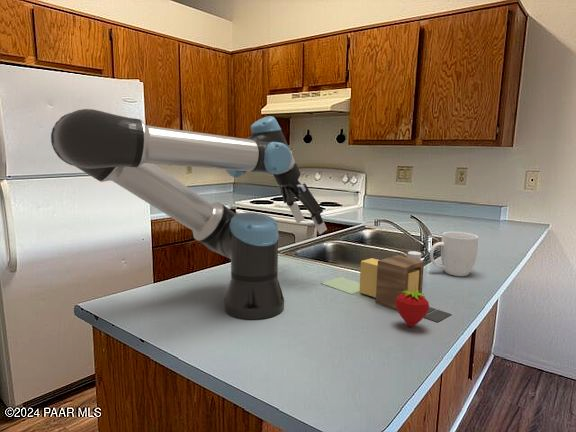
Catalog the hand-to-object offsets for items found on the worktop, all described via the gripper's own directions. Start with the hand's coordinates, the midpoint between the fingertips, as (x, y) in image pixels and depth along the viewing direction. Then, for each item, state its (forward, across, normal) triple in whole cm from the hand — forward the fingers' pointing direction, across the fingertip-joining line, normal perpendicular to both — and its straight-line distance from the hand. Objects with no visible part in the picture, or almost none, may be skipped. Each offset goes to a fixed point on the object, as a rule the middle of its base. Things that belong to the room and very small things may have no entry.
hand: (311, 226), depth 126 cm
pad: (+15, -15, +4) cm, 21 cm away
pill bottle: (+24, -22, -13) cm, 36 cm away
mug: (+35, -21, -30) cm, 50 cm away
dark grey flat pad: (+16, -41, -2) cm, 44 cm away
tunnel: (+16, -32, 0) cm, 36 cm away
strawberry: (+12, -44, +6) cm, 46 cm away
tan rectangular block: (+15, -29, 0) cm, 33 cm away
